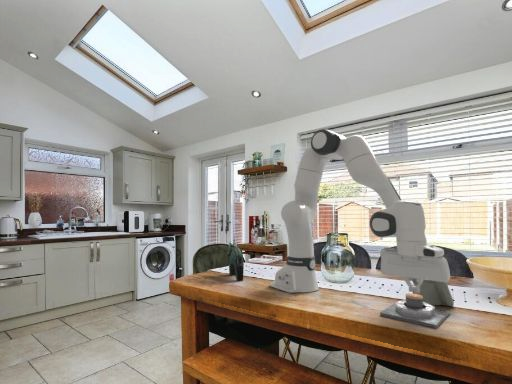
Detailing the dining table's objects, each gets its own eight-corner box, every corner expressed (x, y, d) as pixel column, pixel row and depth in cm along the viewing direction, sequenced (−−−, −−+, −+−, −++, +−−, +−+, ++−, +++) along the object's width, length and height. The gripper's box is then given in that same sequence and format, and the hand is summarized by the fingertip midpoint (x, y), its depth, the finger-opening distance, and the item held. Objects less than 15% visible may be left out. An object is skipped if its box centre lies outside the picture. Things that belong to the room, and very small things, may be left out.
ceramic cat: (226, 274, 165) (226, 238, 166) (238, 273, 167) (237, 237, 168) (234, 282, 146) (234, 241, 147) (247, 280, 148) (246, 240, 149)
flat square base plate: (380, 315, 96) (379, 306, 96) (398, 303, 107) (397, 295, 107) (436, 328, 84) (435, 317, 85) (449, 313, 96) (449, 304, 96)
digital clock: (457, 308, 101) (455, 276, 102) (431, 308, 101) (429, 277, 102) (428, 294, 118) (427, 267, 118) (406, 295, 117) (405, 268, 118)
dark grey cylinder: (403, 311, 96) (403, 295, 96) (409, 307, 99) (408, 292, 100) (420, 315, 92) (419, 299, 93) (425, 311, 96) (425, 295, 96)
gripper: (376, 248, 102) (378, 288, 101) (444, 252, 88) (448, 299, 87) (383, 246, 107) (385, 285, 106) (449, 250, 92) (453, 295, 91)
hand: (414, 291), depth 96 cm, fingers closed
